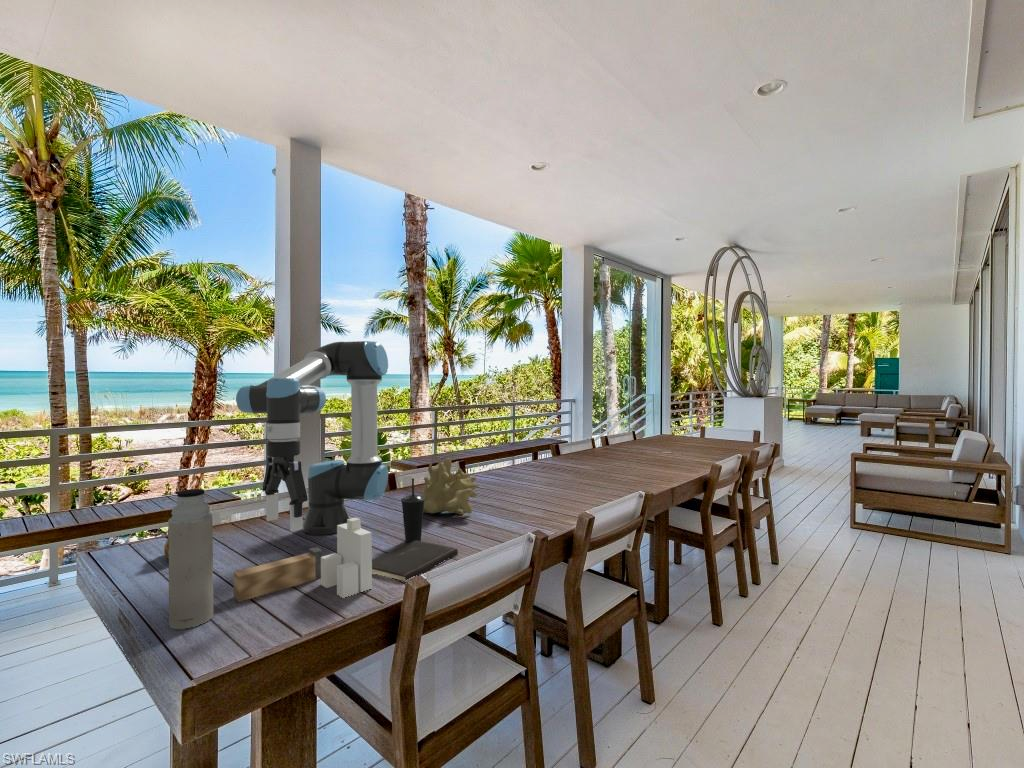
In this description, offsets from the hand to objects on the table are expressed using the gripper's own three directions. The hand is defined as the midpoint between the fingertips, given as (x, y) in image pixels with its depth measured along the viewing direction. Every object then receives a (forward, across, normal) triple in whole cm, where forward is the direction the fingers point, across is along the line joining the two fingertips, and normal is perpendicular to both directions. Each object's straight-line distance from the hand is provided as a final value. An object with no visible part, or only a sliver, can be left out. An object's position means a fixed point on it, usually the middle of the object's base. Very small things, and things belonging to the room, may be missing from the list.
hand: (283, 525), depth 123 cm
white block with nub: (+15, +12, +10) cm, 22 cm away
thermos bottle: (+16, +2, -21) cm, 26 cm away
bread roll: (+16, -44, -10) cm, 47 cm away
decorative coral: (+15, -20, +71) cm, 76 cm away
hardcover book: (+16, +10, +31) cm, 36 cm away
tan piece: (+16, -1, -2) cm, 16 cm away
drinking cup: (+15, -4, +43) cm, 45 cm away
